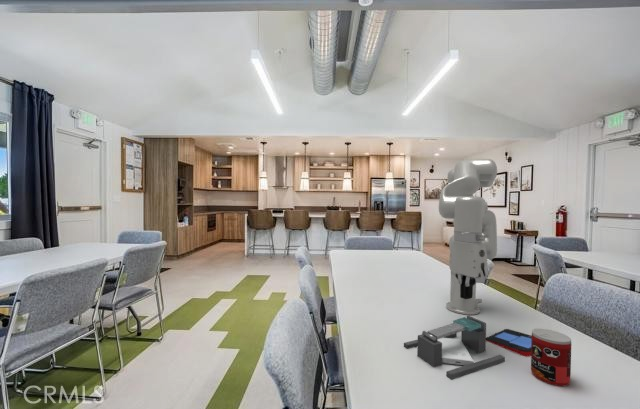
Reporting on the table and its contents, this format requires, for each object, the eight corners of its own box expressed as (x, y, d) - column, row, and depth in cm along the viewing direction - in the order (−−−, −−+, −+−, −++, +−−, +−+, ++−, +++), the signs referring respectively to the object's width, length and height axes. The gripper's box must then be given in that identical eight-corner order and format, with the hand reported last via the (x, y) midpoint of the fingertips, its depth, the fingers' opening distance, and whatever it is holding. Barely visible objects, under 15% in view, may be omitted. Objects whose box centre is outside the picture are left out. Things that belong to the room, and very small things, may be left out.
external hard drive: (461, 344, 89) (474, 366, 77) (433, 341, 90) (442, 362, 78) (461, 339, 89) (474, 360, 77) (433, 336, 90) (442, 357, 78)
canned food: (523, 369, 76) (524, 328, 76) (551, 368, 77) (551, 327, 77) (548, 387, 69) (549, 342, 69) (579, 386, 69) (580, 341, 69)
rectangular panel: (464, 320, 89) (464, 316, 89) (481, 327, 84) (480, 323, 84) (420, 334, 82) (420, 330, 82) (435, 343, 77) (435, 339, 77)
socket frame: (452, 334, 96) (453, 309, 96) (504, 361, 80) (505, 331, 80) (403, 346, 87) (404, 318, 87) (451, 379, 71) (451, 345, 71)
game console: (505, 331, 100) (505, 325, 100) (549, 347, 89) (549, 340, 89) (483, 341, 93) (483, 334, 93) (528, 359, 82) (528, 352, 82)
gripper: (500, 240, 80) (498, 304, 81) (455, 234, 94) (454, 289, 94) (482, 241, 77) (480, 308, 78) (438, 235, 91) (437, 292, 91)
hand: (466, 297), depth 86 cm, fingers closed
